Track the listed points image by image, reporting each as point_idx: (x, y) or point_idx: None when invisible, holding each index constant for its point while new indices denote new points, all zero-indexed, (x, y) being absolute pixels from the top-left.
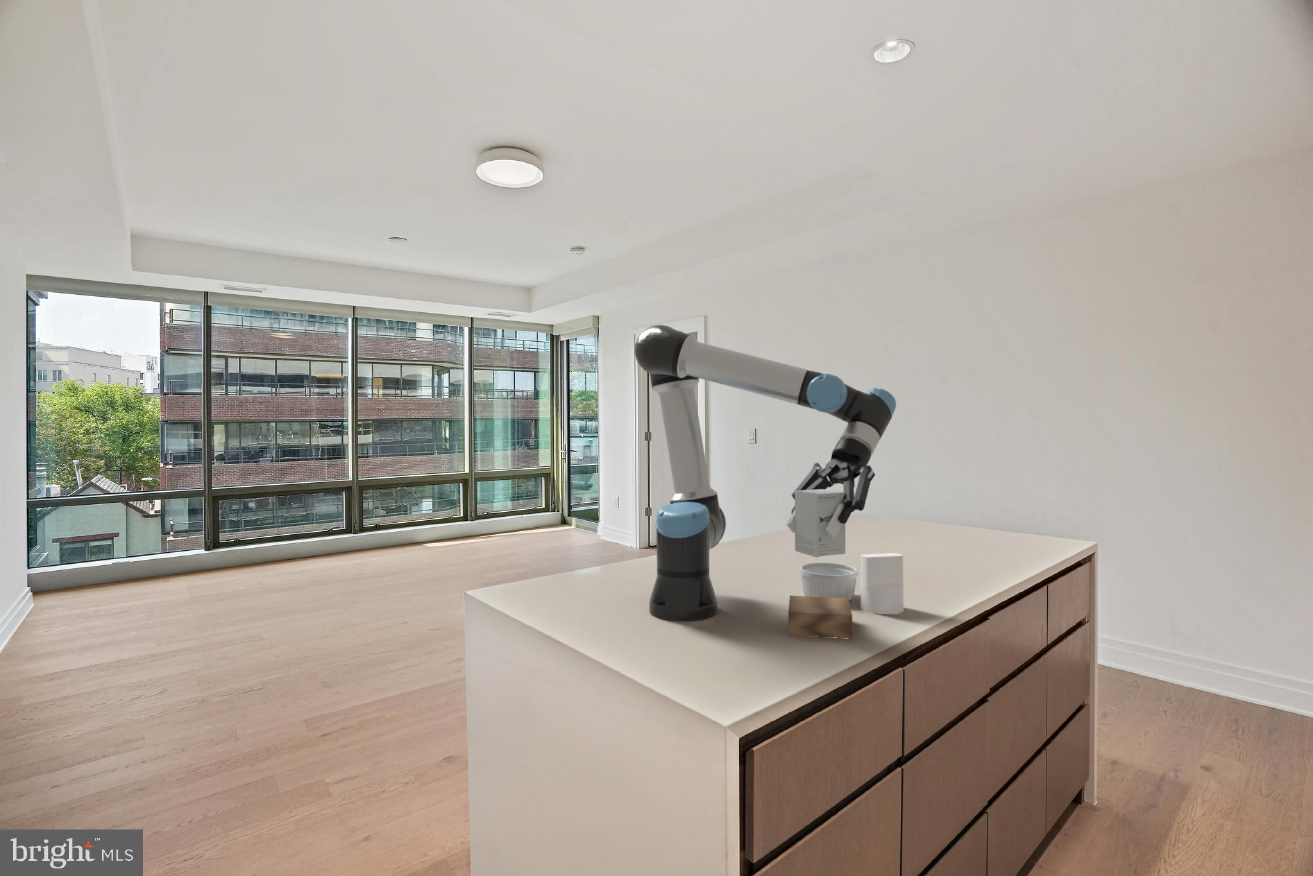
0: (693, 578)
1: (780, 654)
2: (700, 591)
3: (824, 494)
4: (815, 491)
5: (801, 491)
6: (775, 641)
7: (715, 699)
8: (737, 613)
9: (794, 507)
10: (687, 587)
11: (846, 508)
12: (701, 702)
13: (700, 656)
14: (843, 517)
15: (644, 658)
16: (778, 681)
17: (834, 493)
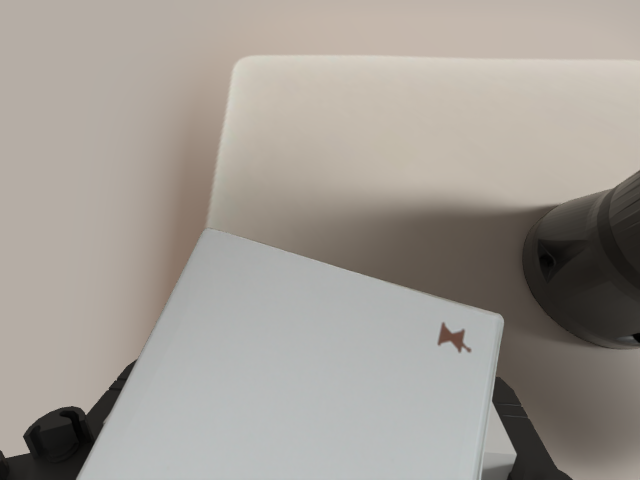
0: (596, 215)
1: (301, 220)
2: (568, 243)
3: (172, 291)
4: (290, 346)
5: (407, 289)
6: (343, 260)
7: (275, 76)
8: (517, 344)
9: (519, 417)
10: (583, 210)
11: (93, 425)
12: (282, 64)
13: (378, 140)
14: (128, 365)
15: (423, 91)
16: (249, 149)
17: (114, 407)
